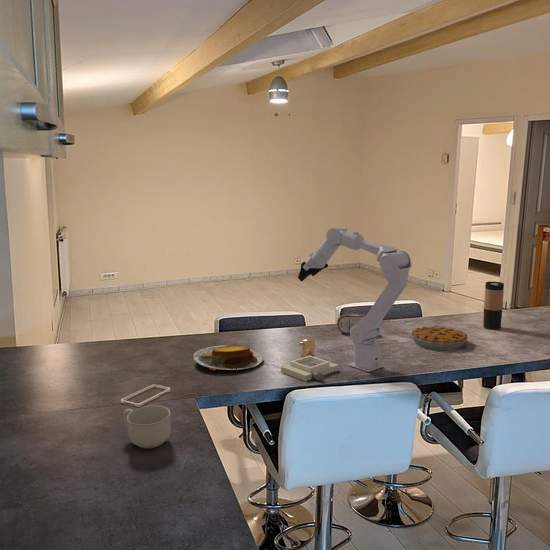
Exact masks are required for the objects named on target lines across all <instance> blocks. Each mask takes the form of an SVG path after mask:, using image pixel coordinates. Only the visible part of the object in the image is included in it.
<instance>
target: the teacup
mask: <svg viewBox="0 0 550 550" xmlns="http://www.w3.org/2000/svg"><path fill="white" fill-rule="evenodd" d="M171 415H172V414H171V410H170V409H169V408H168V407H166V406H163V405H157V404H152V405H151V404H150V405H142V406H140V407H136V408H135V409H132V408H127V409H125V410H124V411H123V413H122V417H123V418H122V419H123V421H124V422H125V424H126V425H127V431H128V437H129V440H130V441H131V443H133V444H134V445H135V446H138V447H139V448H142V449H154V448H155V449H156V448H158V447H159V446H162V445H163V444H164V443H165V442H166V441H167V440H168V439H169V437H170V435H171V431H172V430H171V429H172V428H171V427H172V425H171V422H172V421H171V420H172V419H171Z"/></svg>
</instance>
